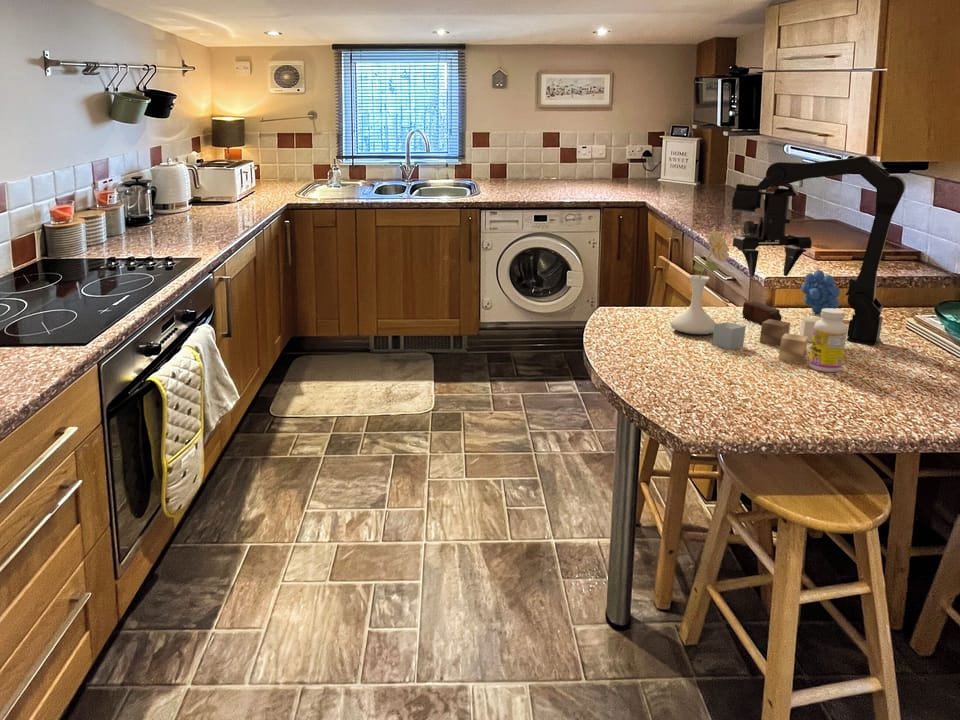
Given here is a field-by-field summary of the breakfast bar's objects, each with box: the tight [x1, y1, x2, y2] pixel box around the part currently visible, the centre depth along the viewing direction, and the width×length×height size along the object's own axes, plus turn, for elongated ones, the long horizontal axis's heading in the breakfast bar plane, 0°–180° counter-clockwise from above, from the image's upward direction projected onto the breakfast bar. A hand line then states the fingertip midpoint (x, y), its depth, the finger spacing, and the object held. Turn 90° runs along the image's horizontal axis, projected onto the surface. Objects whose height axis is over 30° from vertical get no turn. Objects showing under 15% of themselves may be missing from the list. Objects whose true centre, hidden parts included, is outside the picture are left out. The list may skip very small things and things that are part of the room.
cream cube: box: [799, 316, 822, 343], centre depth 213 cm, size 5×5×5 cm
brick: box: [741, 301, 782, 326], centre depth 229 cm, size 11×4×5 cm, turn 24°
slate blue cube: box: [711, 321, 746, 351], centre depth 205 cm, size 5×5×5 cm
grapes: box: [800, 269, 841, 315], centre depth 239 cm, size 12×7×12 cm, turn 38°
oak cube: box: [778, 333, 809, 364], centre depth 196 cm, size 5×5×5 cm
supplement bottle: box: [808, 308, 848, 373], centre depth 188 cm, size 7×7×13 cm
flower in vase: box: [669, 229, 730, 335], centre depth 213 cm, size 13×11×25 cm
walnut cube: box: [759, 319, 791, 347], centre depth 209 cm, size 5×5×5 cm
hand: (768, 276), depth 221 cm, fingers open, 9 cm apart
